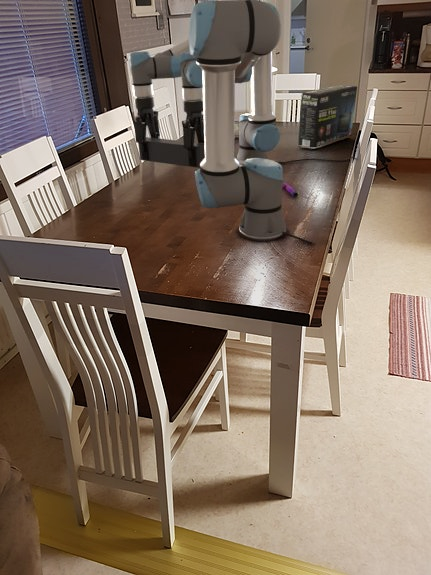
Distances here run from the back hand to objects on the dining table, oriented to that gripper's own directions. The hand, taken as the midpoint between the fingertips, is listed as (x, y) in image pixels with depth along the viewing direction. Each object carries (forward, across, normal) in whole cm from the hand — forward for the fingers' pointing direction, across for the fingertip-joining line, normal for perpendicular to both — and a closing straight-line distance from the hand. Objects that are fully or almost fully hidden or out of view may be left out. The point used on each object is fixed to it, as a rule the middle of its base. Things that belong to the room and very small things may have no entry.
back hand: (150, 157), depth 188 cm
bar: (+1, 0, +11) cm, 11 cm away
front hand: (0, 0, +23) cm, 23 cm away
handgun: (+12, -18, +50) cm, 55 cm away
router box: (+12, -96, +43) cm, 105 cm away
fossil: (+12, -92, -12) cm, 94 cm away
